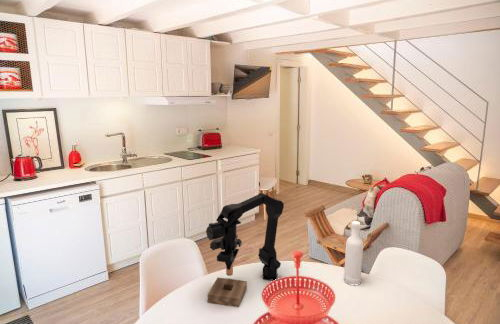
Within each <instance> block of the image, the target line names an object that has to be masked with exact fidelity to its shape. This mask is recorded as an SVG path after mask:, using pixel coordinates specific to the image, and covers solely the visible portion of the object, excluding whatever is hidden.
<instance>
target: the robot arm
mask: <svg viewBox="0 0 500 324" xmlns="http://www.w3.org/2000/svg"><path fill="white" fill-rule="evenodd" d="M262 205H265V212H266V215H267V220H266V221H267V222H266V229H265V236H264V238H265V239H264V244H263V246H262V247H260V248H259V249H258V260H259V261H260V262H261V264H263V266H262V279H263V280H267V281H274V280H275V279H276V280H277V279H278V276H279V272H278V270H279V268H280V267H281V265H282V263H281V262H280V261H279V260H278V259H277V251H276V248H275V245H276V237H277V229H278V221H279V218H280V217H281V215H282V214H283V210H284V207H285V204H284V202H283V201H282V200H281V199H277V198H274V197H271V196H269V195H268V194H266V193H263V192H260V193H258V194H256V195H254V196H252V197H250V198H248V199H245V200H243V201H242V202H239V203H230V204H227V205H224V206H223V207H222V209H221V211H220V212H219V215H218V217H217V218H216V220H215V221H216V222H210V223H208V226H207V228H206V230H205V233H206V237H207V239H208V240H209V241H210V244H209V248H210V249H211V250H212V251H216V250H219V249H220V251H219V253H218V254H217V255H216V261H217V262H221V263H225V266H226V267H227V269H228V270H230V268H231V265H232V263H233V264H234V262H235V260H236V258H237V255H238V253H239V251H240V249H239V248H241V247H242V242H243V241H242V240H241V239H240V238H238V234H237V229H238V228H237V227H238V225H240V224H242V222H241V221H240V220H239V219H241V218H242V217H243V215H244V214H246V213H247V212H249V211H251V210H253V209H255V208H257V207H259V206H262ZM225 219H226V220H225ZM221 250H222V251H221ZM226 267H225V268H226Z"/></svg>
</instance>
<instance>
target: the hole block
mask: <svg viewBox="0 0 500 324" xmlns="http://www.w3.org/2000/svg"><path fill="white" fill-rule="evenodd" d="M247 284H248V283H247V280H241V279H232V278H226V277H220V276H219V277H217V278H216V279H215V281H214V283H213V284H212V286H211V287H210V289H209V291H208V292H207V295H206V296H207V303H209V304H215V305H219V306H220V305H222V306H228V307H236V308H240V306H241V303H242V301H243V299H244V296H245V294H246V292H247V290H248V285H247Z"/></svg>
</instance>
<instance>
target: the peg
mask: <svg viewBox="0 0 500 324" xmlns="http://www.w3.org/2000/svg"><path fill="white" fill-rule="evenodd" d="M233 274H234V262H233V263H232V265H231V268H230V270H228V269H227V267H225V275H226V276H228V277H229V276H233Z"/></svg>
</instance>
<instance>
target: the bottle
mask: <svg viewBox="0 0 500 324" xmlns="http://www.w3.org/2000/svg"><path fill="white" fill-rule="evenodd" d="M360 229H361V223H360V221H357V220H354V221H352V222H351V233H350V236H349V237H348V238H347V240H346V242H345V253H344V254H345V256H344V269H343V271H344V272H343V281H345V282H344V283H346V284H347V283H348V284H347V285H349V284H354V285H353V286H356V285H355V284H359V283H360V284H361V280H362V267H363V254H364V252H363V251H364V242H363V238H361V237H360V232H361V231H360ZM360 284H359V285H360Z"/></svg>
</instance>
